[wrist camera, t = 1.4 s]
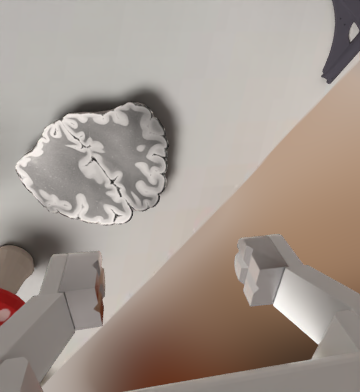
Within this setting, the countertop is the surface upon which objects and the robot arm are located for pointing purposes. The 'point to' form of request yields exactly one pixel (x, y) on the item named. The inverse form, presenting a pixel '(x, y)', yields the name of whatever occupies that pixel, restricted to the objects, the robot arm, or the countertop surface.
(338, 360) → the robot arm
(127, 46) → the countertop surface
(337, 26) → the bracket
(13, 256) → the decorative mushroom
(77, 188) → the brain slice
